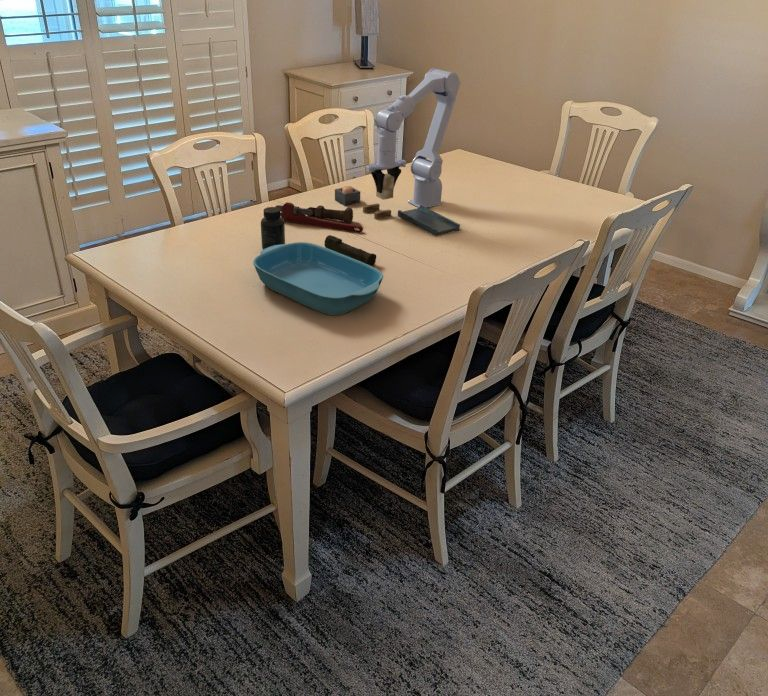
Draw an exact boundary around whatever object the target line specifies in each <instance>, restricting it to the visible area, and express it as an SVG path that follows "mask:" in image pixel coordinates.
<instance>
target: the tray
mask: <svg viewBox="0 0 768 696" xmlns="http://www.w3.org/2000/svg"><path fill="white" fill-rule="evenodd" d="M397 217H398V218H400V219H401V220H404V221H406V222H408V223H410V224H411V225H414V226H416V227H418V228H419V229H421V230H423V231H425V232H426V231H427V233H429V234H430V235H433V236H434V237H438V236H442V234H443V235H446V234H450V233H455V232H458V231H460V230H461V229H460V228H461V224H460V223H457V222H456V221H454V220H452V219H450V218H448V217H446V216H443V215H442V214H440V213H438V212H436V211H433V210H432V209H430V208H429V207H428V208H426V207H424V206H422V205H421V206H420V207H417V208H413V209H409V210H405V211H404V210H400V209H398V210H397ZM454 231H455V232H454Z"/></svg>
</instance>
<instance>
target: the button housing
mask: <svg viewBox="0 0 768 696" xmlns="http://www.w3.org/2000/svg"><path fill="white" fill-rule="evenodd" d="M349 187H352V185H351V186H349ZM342 188H343V187H340V188H334V201H336V202H337V203H339V204H340V205H343V206H345V207H346V206H351V205H355V204H360V203H361V191H360V190H359V189H357V188H355V187H352V188H353V192H350V193H344V192H342Z"/></svg>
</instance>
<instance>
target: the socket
mask: <svg viewBox="0 0 768 696" xmlns="http://www.w3.org/2000/svg"><path fill="white" fill-rule="evenodd" d="M380 204H381V203H380ZM380 204H379V203H372V204H367V205H363V206H362V212H363V213H365V214H367V213H372V212H374V213H373V214H374V217H373V218H374V220H380V219H385V218H389V217H392V210H391V209H384V210H380Z"/></svg>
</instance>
